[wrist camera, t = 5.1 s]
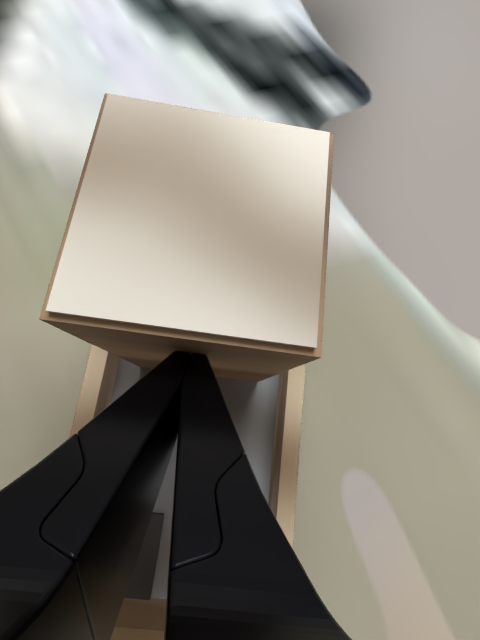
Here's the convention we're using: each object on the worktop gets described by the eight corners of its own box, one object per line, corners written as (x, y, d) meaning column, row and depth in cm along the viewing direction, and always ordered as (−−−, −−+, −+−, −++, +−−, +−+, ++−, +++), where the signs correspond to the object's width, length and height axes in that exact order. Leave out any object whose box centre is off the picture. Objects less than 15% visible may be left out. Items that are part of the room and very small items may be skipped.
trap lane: (272, 623, 13) (289, 685, 10) (51, 603, 13) (5, 662, 10) (301, 252, 18) (319, 223, 15) (137, 227, 17) (122, 191, 14)
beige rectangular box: (257, 382, 15) (323, 356, 6) (140, 367, 15) (35, 317, 6) (269, 274, 16) (335, 128, 8) (162, 258, 16) (102, 87, 7)
